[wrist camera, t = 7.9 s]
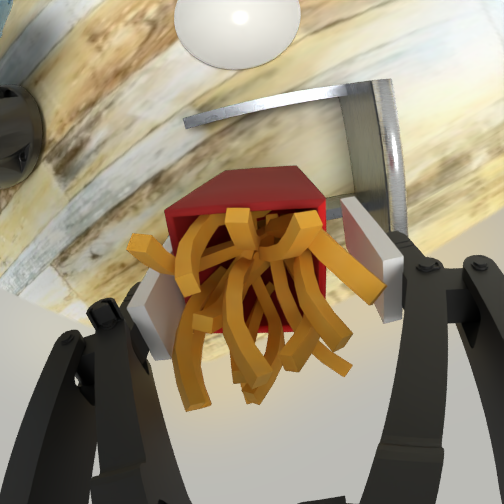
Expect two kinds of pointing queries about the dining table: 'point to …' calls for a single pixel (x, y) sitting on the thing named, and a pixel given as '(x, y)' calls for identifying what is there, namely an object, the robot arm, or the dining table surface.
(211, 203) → the french fries
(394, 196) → the gray bracket
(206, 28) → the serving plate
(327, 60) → the dining table surface
